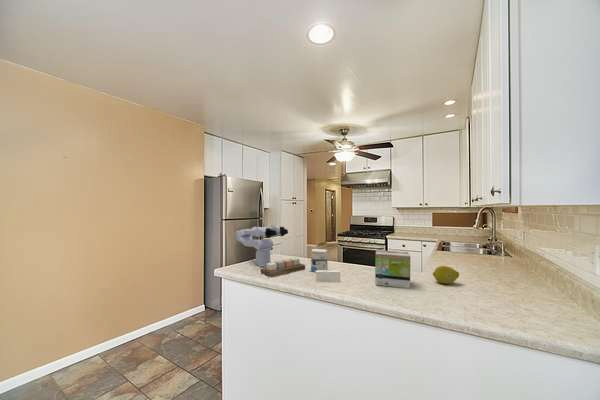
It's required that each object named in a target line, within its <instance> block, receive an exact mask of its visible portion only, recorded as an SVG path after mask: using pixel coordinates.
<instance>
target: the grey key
mask: <svg viewBox="0 0 600 400" xmlns="http://www.w3.org/2000/svg"><path fill="white" fill-rule="evenodd" d="M274 263H276V264H277V268H278V269H281V268H285V262H283V261H282V260H277V261H274Z"/></svg>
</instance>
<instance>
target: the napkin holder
mask: <svg viewBox="0 0 600 400" xmlns="http://www.w3.org/2000/svg"><path fill="white" fill-rule="evenodd" d="M315 281H316V282H317V283H323V282H326V283H334V282H335V283H336V282H337V283H338V282H341V271H340V270H339V269H337V270H335V269H334V270H328V269H327V270H317V271H316V272H315Z"/></svg>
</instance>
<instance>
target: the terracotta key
mask: <svg viewBox="0 0 600 400" xmlns="http://www.w3.org/2000/svg"><path fill="white" fill-rule="evenodd" d="M281 261H283V262H285V267H290V266H292V260H290V258H287V259H283V260H281Z"/></svg>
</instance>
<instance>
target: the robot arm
mask: <svg viewBox="0 0 600 400" xmlns="http://www.w3.org/2000/svg"><path fill="white" fill-rule="evenodd" d="M288 234H289V230H288V229H287V228H285V227H284V226H279V228H278V227H275V225H273V224H272V225H270V226H267V227H266V226H263V227H262V226H253V227H251V228H244V229H239V230H236V231H235V235H234V236H235V238H236V241H237V242H240V243H241V244H242V245H243V246H245V247H251V248H254V249H256V252H255V262H254V264H255V265H257V266H259V267H261V268H262V267H263V268H264V267H267V266H266V264H267V263H271V251H272V249H273V247H274V242H273V241H274V240H273V239H272V238H276V237H278V236H279V235H280V237H284V236H285V235H288ZM253 237H257V238H259V237H264V239H253Z"/></svg>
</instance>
